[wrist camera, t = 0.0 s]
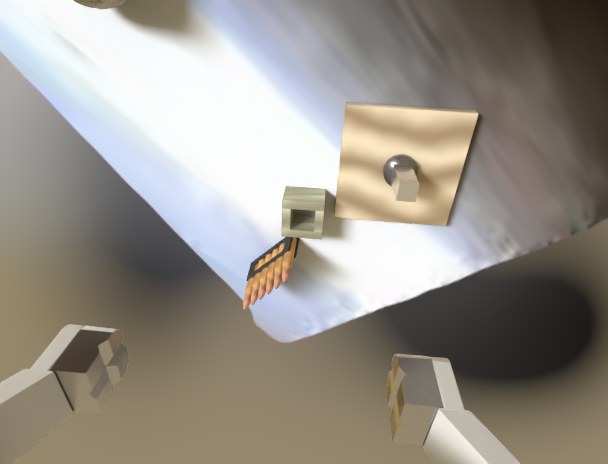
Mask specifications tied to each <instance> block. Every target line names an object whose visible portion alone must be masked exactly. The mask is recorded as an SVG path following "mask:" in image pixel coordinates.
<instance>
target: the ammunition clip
mask: <svg viewBox="0 0 608 464" xmlns="http://www.w3.org/2000/svg"><path fill="white" fill-rule="evenodd" d="M298 243H299V238H298V237H285V238H284V239H283V240H281V241H280V242H279V243H277V244H276V245H275V246H273V247H272V248H271V249H269V250H268V251H267V252H265V253H264V254H263V255H261V256H260V257H259V258H257V259H256V260H255V261H253V262H252V263H251V266H250V269H249V273H248V276H247V281H248V283H247V286H246V290H245V297H244V302H243V308H244V310H246V309H247V308H248V306H249V305H250V302H251V304H252V305H253V304H254V303H255V302H256V300H257V298H258V296H259V299H260V300H261V299H262V298H263V296H264V295H265V292H267V294H269V293H270V292H271V291H272V289H273V286H274V287H275V289H277V288H278V287H279V285H280V283H281V280H282V281H283V283H286V281H287V280H288V278H289V275H290V271H291V268H292V265H293V259H294V258H295V257H296V254H297V248H298Z"/></svg>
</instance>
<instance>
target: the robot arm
mask: <svg viewBox="0 0 608 464" xmlns="http://www.w3.org/2000/svg"><path fill="white" fill-rule="evenodd" d="M123 338H124V337H123V334H122V331H121V330H118V329H110V328H101V327H92V326H83V325H73V324H69V325H67V326H65V327H64V328H63V329H62V330H61V331H60V333H59V334H58V335H57V336H56V337H55V339H54V340H53V341H52V343H51V344H50V345H49V346H48V347H47V349H46V350H45V351H44V352H43V354H42V355H41V356H40V357H39V359H38V360H37V361H36V362H35V363H34V365H33V366H32V367H31V369H24V370H22V371H20V372H18V373H17V374H15V375H13V376H11V377H10V378H8V379H6V380H4V381H3V382H1V383H0V464H13V463H14V462H15V461H17V460H18V459H19V458H20V457H21V456H23V455H24V454H25V453H26V452H28V451H29V450H30V449H31V448H32V447H34V446H35V445H36V444H37V443H38V442H40V441H41V440H42V439H43V438H44V437H46V436H47V435H48V434H49V433H50V432H52V431H53V430H54V429H55V428H56V427H58V426H59V425H60V424H61V423H63V422H64V421H65V420H66V419H67V418H69V417H70V416H71V415H72V414H73V412H86V413H100V414H103V412H104V410H105V408H106V406H107V405H108V403H109V401H110V399H111V398H112V396H113V394H114V390H113V385H114V384H116V383H117V382H118V381H120V380H121V379H122V377H123V376H124V374H125V372H126V369H127V365H128V362H129V353H128V350H127V347H125V346H124V345H123V344H122V343H121V342H122V340H123ZM392 368H393V370H391V371H390V372H389V375H388V380H387V401H388V405H389V407H390V408H391V409H392V413H391V417H390V426H391V434H392V441H393V442H394V443H402V444H410V445H418V446H423V449H424V450H425V452H426V453H427V455H428V456H429V458H430V459H431V461H432V462H433V464H520V463H519V462H518V461H517V460H516V458H515V457H514V456H513V455H512V454H511V453H510V452H509V451H508V450H507V449H506V448H505V447H504V446H503V445H502V444H501V443H500V442H499V441H498V440H497V439H496V438H495V437H494V435H493V434H491V432H489V430H488V429H487V428H486V427H485V426H484V425H483V424H482V423H481V422H480V421H479V420H478V419H477V418H476V417H475V416H474V415H473V414H472V413H471V412H470V411H466V410H464V406H463V403H462V400H461V397H460V394H459V390H458V387H457V384H456V381H455V377H454V374H453V370H452V367H451V364H450V361H449V360H448V359H447V358H437V357H428V356H416V355H404V354H395V355H394V356H393V359H392Z"/></svg>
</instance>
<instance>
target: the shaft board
mask: <svg viewBox="0 0 608 464" xmlns="http://www.w3.org/2000/svg"><path fill="white" fill-rule="evenodd" d="M478 114H479V113H477V112H476V111H474V110H459V109H444V108H429V107H414V106H399V105H383V104H368V103H353V102H346V106H345V116H344V125H343V135H342V145H341V154H340V164H339V174H338V184H337V193H336V203H335V213H334V217H338V218H351V219H364V220H377V221H390V222H403V223H416V224H429V225H441V226H446V224H447V220H448V217H449V213H450V210H451V207H452V203H453V200H454V196H455V193H456V189H457V186H458V183H459V179H460V176H461V172H462V169H463V166H464V162H465V159H466V155H467V152H468V148H469V145H470V142H471V138H472V135H473V131H474V128H475V124H476V121H477V118H478Z"/></svg>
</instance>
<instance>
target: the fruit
mask: <svg viewBox="0 0 608 464" xmlns="http://www.w3.org/2000/svg"><path fill="white" fill-rule="evenodd" d="M74 1H75V2H77V3H79V4H81V5H84V6H87V7H91V8H98V9H108V8H115V7H117V6H120V5H122V4H123V3H125V2H126V1H127V0H74Z"/></svg>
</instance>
